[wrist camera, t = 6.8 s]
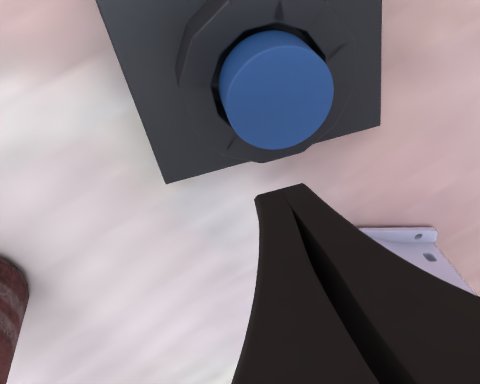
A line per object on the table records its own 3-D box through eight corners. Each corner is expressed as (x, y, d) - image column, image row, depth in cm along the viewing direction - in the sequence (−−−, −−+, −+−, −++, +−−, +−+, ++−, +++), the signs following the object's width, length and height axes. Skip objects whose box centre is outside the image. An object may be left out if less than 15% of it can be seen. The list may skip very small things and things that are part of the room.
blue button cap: (312, 17, 16) (330, 31, 14) (320, 113, 18) (337, 134, 16) (207, 44, 15) (214, 62, 14) (230, 137, 18) (238, 162, 16)
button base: (365, -90, 17) (411, -85, 14) (367, 112, 22) (400, 145, 19) (94, -20, 16) (84, 0, 13) (164, 168, 22) (168, 210, 19)
